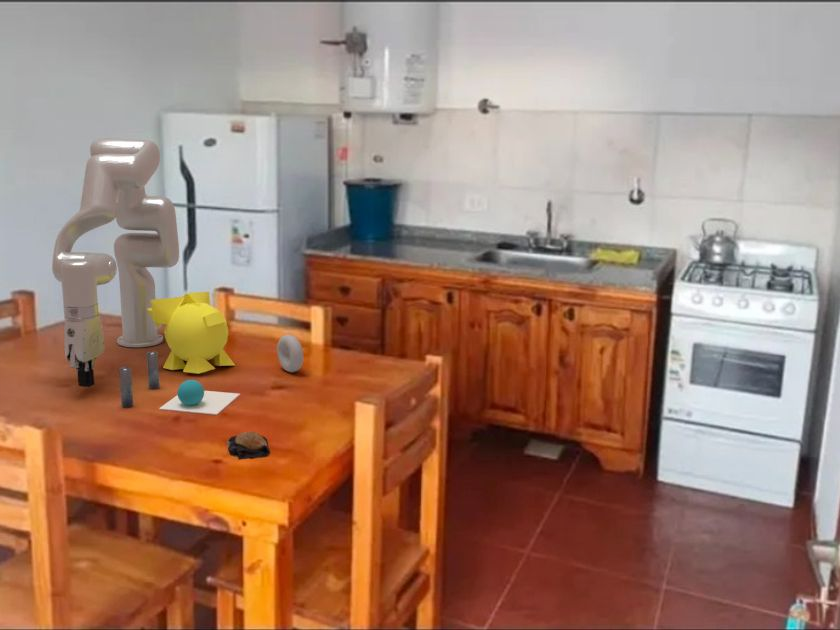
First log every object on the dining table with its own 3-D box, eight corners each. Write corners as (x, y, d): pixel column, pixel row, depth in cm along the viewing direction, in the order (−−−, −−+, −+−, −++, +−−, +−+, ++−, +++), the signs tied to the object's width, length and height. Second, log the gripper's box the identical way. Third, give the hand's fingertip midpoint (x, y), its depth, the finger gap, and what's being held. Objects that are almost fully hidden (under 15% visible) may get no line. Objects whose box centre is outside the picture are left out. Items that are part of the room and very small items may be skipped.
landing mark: (185, 389, 210) (185, 388, 210) (240, 394, 208) (240, 393, 208) (158, 409, 197) (158, 408, 196) (216, 414, 194) (216, 414, 194)
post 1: (125, 403, 200) (122, 366, 197) (135, 404, 199) (133, 367, 197) (119, 407, 197) (117, 369, 195) (129, 408, 197) (127, 370, 195)
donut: (274, 368, 228) (274, 331, 226) (285, 365, 231) (285, 329, 228) (294, 377, 221) (294, 340, 219) (306, 375, 223) (306, 338, 221)
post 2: (151, 385, 212) (149, 350, 210) (161, 386, 212) (159, 351, 210) (146, 388, 210) (144, 353, 208) (156, 389, 209) (154, 354, 207)
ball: (213, 387, 200) (201, 407, 202) (194, 372, 201) (183, 391, 203) (198, 394, 195) (187, 414, 197) (179, 378, 196) (168, 397, 198)
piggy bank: (197, 351, 241) (195, 283, 237) (247, 364, 231) (245, 294, 226) (138, 368, 225) (134, 296, 221) (189, 383, 215) (186, 308, 210)
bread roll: (224, 444, 180) (223, 427, 179) (264, 439, 183) (263, 422, 182) (232, 463, 171) (231, 446, 170) (274, 458, 173) (274, 441, 173)
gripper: (78, 320, 194) (83, 397, 199) (112, 305, 208) (116, 377, 213) (47, 318, 195) (54, 394, 200) (83, 303, 210) (88, 374, 214)
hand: (86, 385), depth 206 cm, fingers closed
